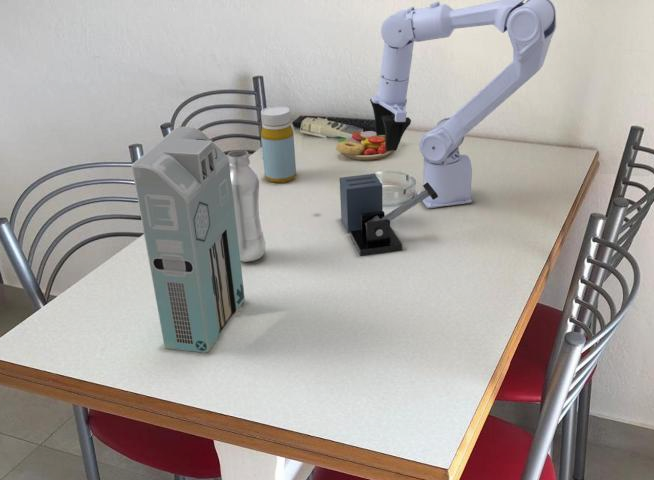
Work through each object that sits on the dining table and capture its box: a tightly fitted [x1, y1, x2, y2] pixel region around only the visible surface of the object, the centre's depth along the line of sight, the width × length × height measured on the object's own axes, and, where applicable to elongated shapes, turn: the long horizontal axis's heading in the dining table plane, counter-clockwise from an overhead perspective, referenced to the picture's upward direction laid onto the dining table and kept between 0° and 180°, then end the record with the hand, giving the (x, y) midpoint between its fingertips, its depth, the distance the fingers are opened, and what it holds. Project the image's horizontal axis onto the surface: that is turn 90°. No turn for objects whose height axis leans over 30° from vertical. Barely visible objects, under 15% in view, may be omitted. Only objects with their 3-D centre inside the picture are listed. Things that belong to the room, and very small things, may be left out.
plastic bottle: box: [227, 149, 266, 263], centre depth 155 cm, size 6×7×20 cm
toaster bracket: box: [349, 210, 403, 257], centre depth 162 cm, size 8×8×5 cm
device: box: [131, 125, 246, 354], centre depth 133 cm, size 16×8×30 cm, turn 165°
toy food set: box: [335, 130, 393, 161], centre depth 203 cm, size 13×13×3 cm
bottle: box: [260, 105, 297, 184], centre depth 188 cm, size 7×7×15 cm
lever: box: [365, 182, 438, 225], centre depth 161 cm, size 14×5×2 cm, turn 101°
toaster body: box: [339, 173, 384, 234], centre depth 168 cm, size 7×6×9 cm
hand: (386, 142), depth 178 cm, fingers open, 7 cm apart
